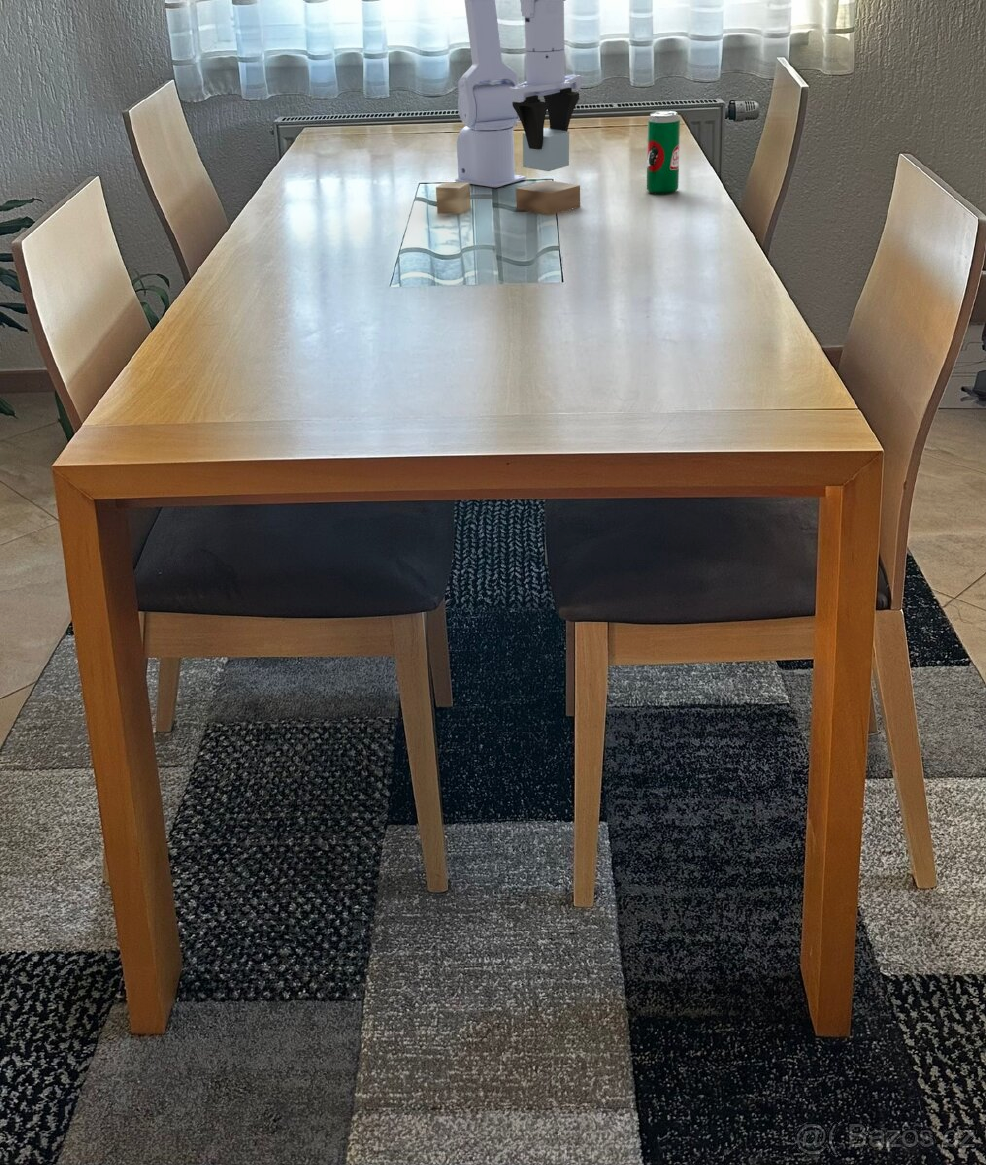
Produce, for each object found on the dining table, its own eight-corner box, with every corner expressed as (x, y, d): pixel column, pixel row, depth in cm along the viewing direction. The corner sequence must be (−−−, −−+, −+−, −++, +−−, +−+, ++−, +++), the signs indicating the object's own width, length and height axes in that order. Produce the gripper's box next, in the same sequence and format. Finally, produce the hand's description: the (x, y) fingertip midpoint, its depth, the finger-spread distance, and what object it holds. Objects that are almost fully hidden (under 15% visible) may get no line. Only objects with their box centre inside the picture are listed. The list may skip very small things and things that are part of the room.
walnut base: (516, 210, 201) (516, 188, 199) (547, 202, 205) (547, 179, 203) (549, 217, 196) (548, 193, 195) (580, 208, 200) (579, 185, 199)
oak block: (437, 213, 201) (435, 187, 199) (447, 207, 204) (445, 181, 202) (461, 214, 199) (459, 188, 197) (470, 208, 202) (469, 182, 200)
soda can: (677, 195, 204) (679, 115, 198) (645, 195, 205) (646, 116, 199) (679, 188, 208) (681, 110, 203) (648, 188, 209) (649, 110, 204)
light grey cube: (523, 166, 197) (522, 132, 195) (543, 161, 201) (543, 127, 198) (548, 171, 195) (548, 136, 192) (568, 165, 198) (569, 131, 195)
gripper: (534, 56, 182) (537, 156, 189) (596, 44, 192) (596, 139, 198) (497, 54, 186) (500, 151, 193) (559, 42, 196) (561, 135, 202)
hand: (547, 145), depth 196 cm, fingers closed on light grey cube, 5 cm apart
